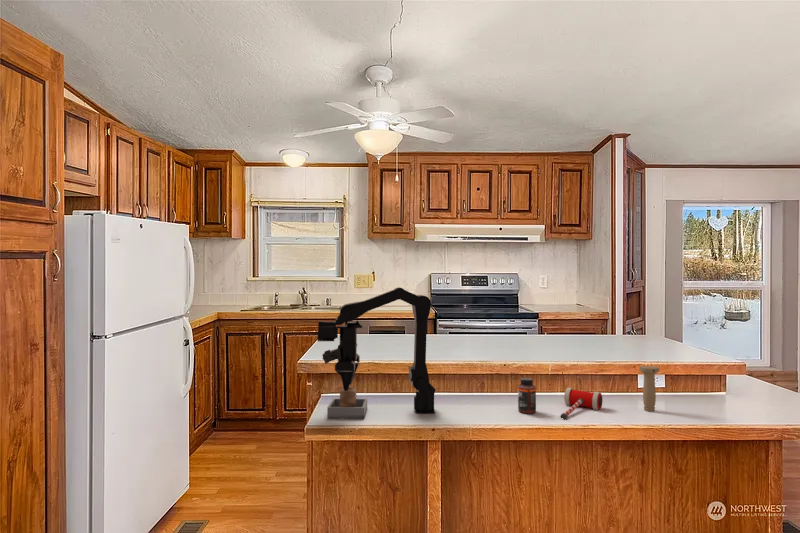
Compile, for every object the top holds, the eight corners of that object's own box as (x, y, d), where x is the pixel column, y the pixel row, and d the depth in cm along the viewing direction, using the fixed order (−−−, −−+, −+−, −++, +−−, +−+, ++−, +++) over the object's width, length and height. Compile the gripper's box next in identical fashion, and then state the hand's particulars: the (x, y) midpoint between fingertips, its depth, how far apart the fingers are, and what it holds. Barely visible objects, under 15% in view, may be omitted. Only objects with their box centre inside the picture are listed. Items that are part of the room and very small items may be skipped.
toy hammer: (581, 423, 158) (581, 403, 158) (545, 417, 165) (545, 397, 165) (603, 408, 176) (603, 390, 176) (570, 403, 183) (570, 386, 183)
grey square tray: (367, 408, 173) (367, 398, 173) (364, 418, 161) (364, 407, 161) (333, 408, 173) (333, 398, 173) (327, 418, 161) (327, 407, 161)
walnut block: (356, 408, 170) (356, 387, 170) (354, 412, 165) (354, 391, 165) (341, 408, 170) (341, 387, 170) (339, 412, 165) (339, 391, 165)
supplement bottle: (537, 410, 171) (537, 378, 171) (533, 415, 166) (533, 381, 166) (520, 408, 174) (520, 376, 174) (516, 412, 169) (516, 379, 169)
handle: (636, 409, 174) (636, 366, 174) (653, 408, 175) (652, 365, 175) (645, 412, 169) (645, 368, 169) (662, 412, 170) (662, 368, 170)
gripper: (328, 337, 177) (328, 381, 177) (319, 344, 158) (318, 393, 158) (360, 337, 177) (359, 381, 176) (354, 345, 158) (353, 394, 158)
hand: (347, 387), depth 167 cm, fingers open, 9 cm apart
